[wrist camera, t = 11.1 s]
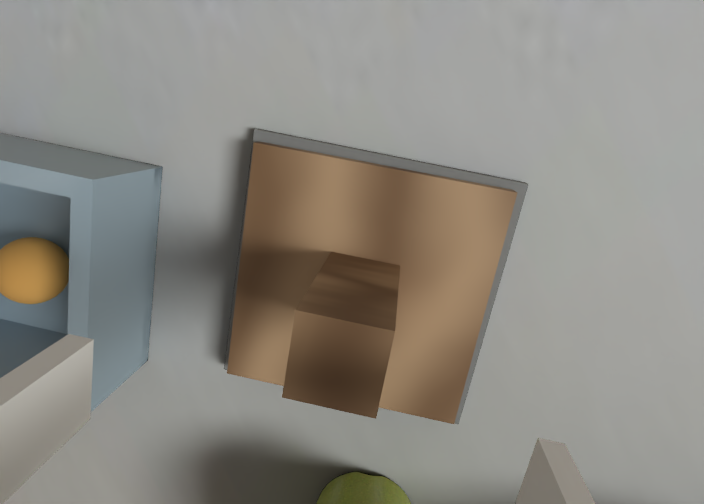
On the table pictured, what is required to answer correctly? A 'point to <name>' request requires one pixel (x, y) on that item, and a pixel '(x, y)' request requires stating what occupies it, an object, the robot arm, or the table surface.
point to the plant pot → (362, 490)
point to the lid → (363, 281)
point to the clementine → (33, 270)
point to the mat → (408, 165)
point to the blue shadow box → (82, 254)
